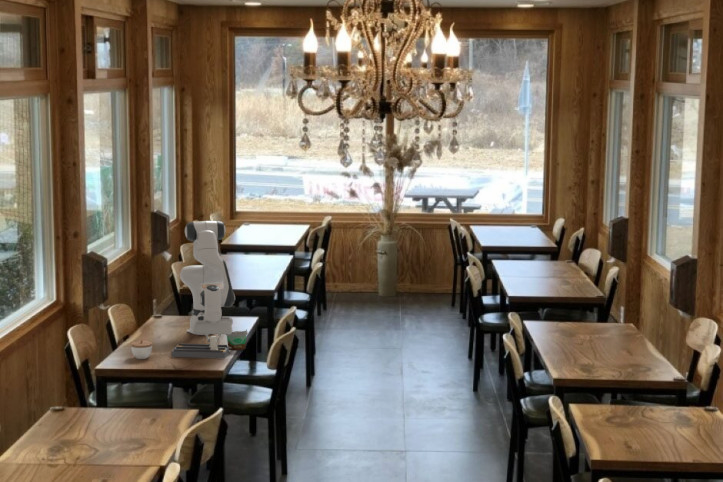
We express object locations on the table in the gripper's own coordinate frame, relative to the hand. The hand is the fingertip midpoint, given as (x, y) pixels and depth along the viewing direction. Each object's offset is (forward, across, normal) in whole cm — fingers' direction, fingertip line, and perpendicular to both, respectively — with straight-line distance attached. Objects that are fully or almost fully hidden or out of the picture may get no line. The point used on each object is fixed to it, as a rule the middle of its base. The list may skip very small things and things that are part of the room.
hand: (213, 342), depth 566 cm
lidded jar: (+6, +35, +12) cm, 38 cm away
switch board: (+6, +6, +3) cm, 9 cm away
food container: (+6, -12, -9) cm, 16 cm away
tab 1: (+3, 0, 0) cm, 3 cm away
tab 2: (+3, -1, +6) cm, 7 cm away
